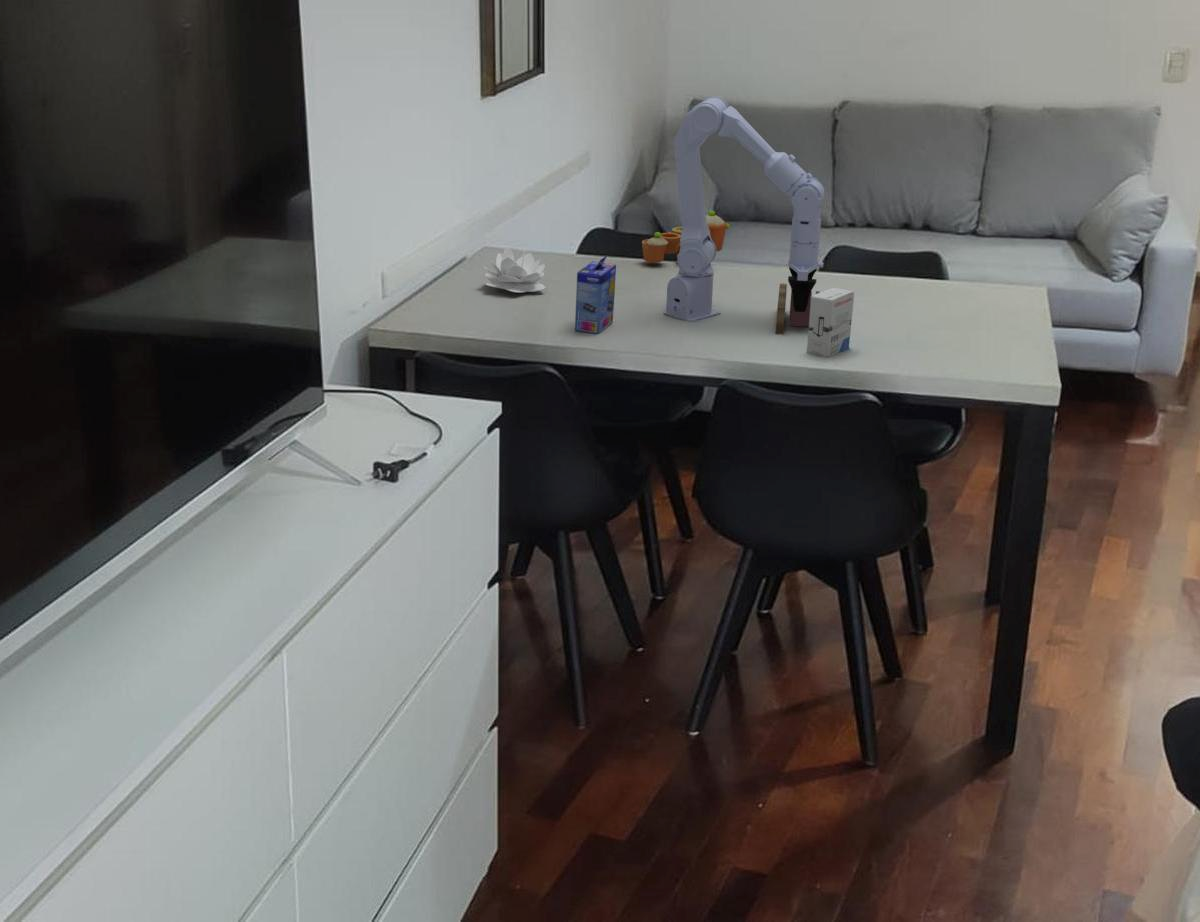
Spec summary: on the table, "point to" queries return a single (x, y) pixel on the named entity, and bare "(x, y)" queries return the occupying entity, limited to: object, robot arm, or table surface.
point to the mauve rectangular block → (799, 314)
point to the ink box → (830, 322)
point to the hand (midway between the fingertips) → (800, 306)
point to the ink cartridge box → (595, 297)
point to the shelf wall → (781, 308)
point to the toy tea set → (671, 240)
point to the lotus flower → (516, 273)
